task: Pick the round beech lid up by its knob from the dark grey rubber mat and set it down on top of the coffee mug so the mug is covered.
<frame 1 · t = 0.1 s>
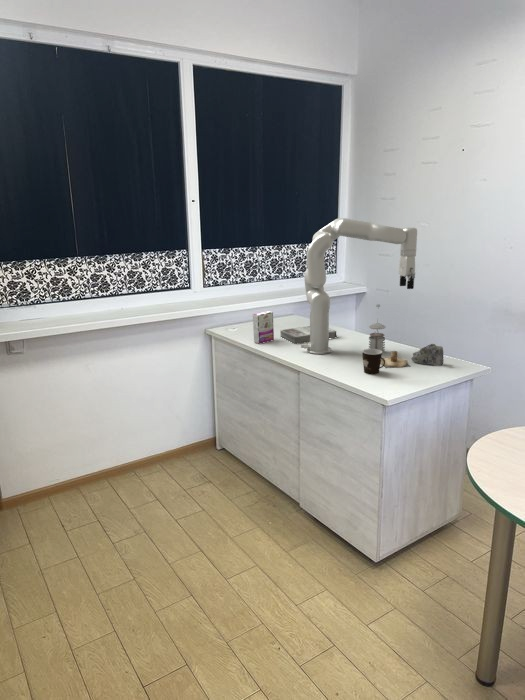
hand: (406, 287, 255), 31 cm above the table, tool pointing down, fingers open, 9 cm apart
french press: (376, 354, 253), on the table
coffee mug: (372, 374, 222), on the table
lid: (393, 363, 235), point 1 cm above the table, touching mat
mineral rock: (428, 364, 235), on the table
mat: (393, 364, 235), on the table
flat grey box: (308, 338, 288), on the table
candy bar box: (263, 341, 281), on the table
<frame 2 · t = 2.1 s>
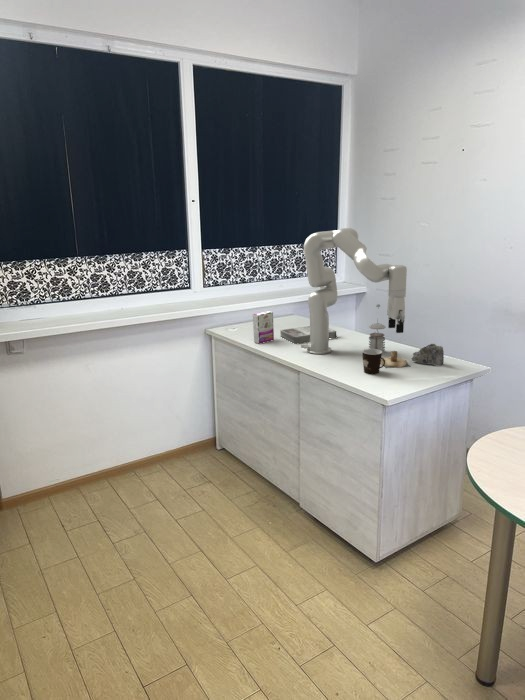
hand: (395, 330, 230), 17 cm above the table, tool pointing down, fingers open, 9 cm apart
nothing on the table moved.
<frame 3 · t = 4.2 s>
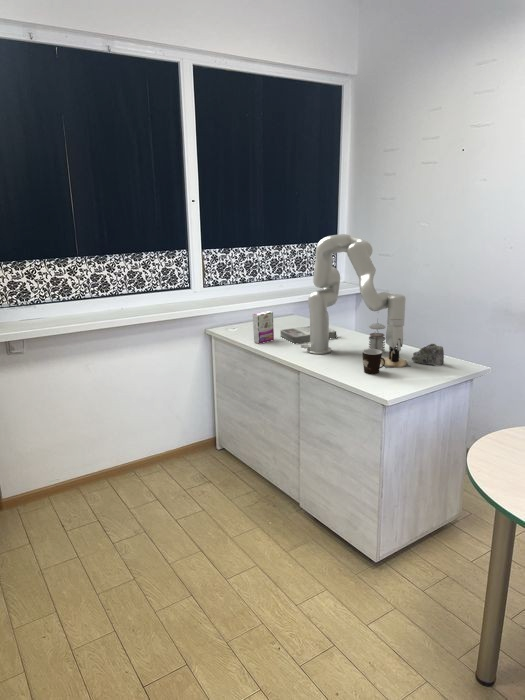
hand: (393, 360, 234), 2 cm above the table, tool pointing down, fingers closed on lid, 2 cm apart
lid: (393, 363, 235), point 1 cm above the table, touching gripper, mat
everything else where it was.
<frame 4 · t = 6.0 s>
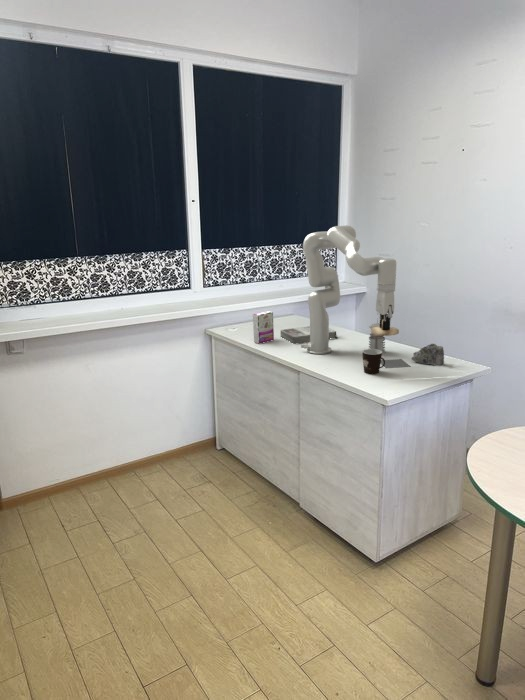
hand: (384, 328, 223), 19 cm above the table, tool pointing down, fingers closed on lid, 2 cm apart
lid: (384, 332, 223), point 18 cm above the table, touching gripper
everything else where it was.
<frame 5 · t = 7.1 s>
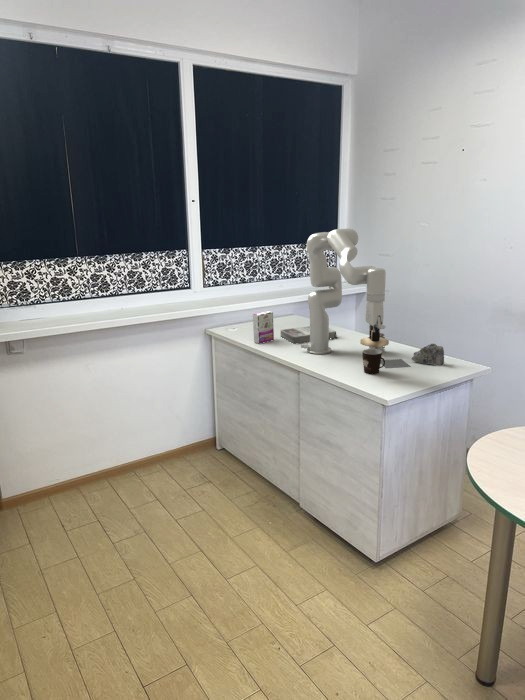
hand: (374, 339, 217), 16 cm above the table, tool pointing down, fingers closed on lid, 2 cm apart
lid: (374, 343, 218), point 14 cm above the table, touching gripper
everything else where it was.
when the fingers open (13 cm above the table, at t = 7.8 s): lid drops 1 cm, resting on coffee mug.
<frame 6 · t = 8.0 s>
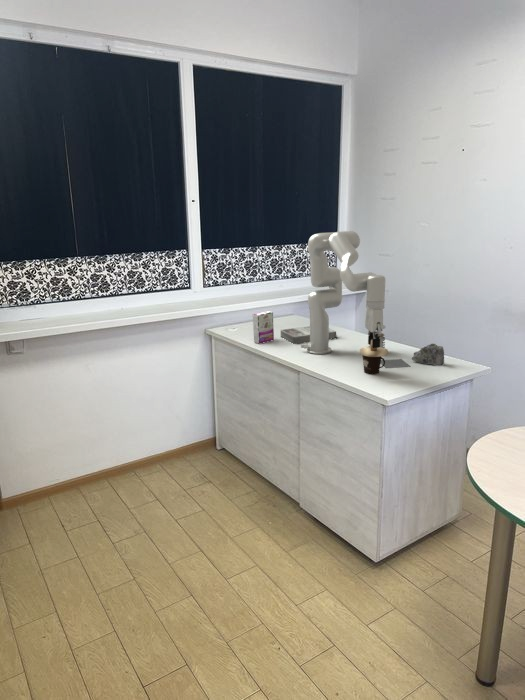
hand: (373, 345, 218), 13 cm above the table, tool pointing down, fingers open, 4 cm apart
coffee mug: (372, 374, 222), on the table, touching lid
lid: (373, 352, 219), point 10 cm above the table, touching coffee mug
everything else where it was.
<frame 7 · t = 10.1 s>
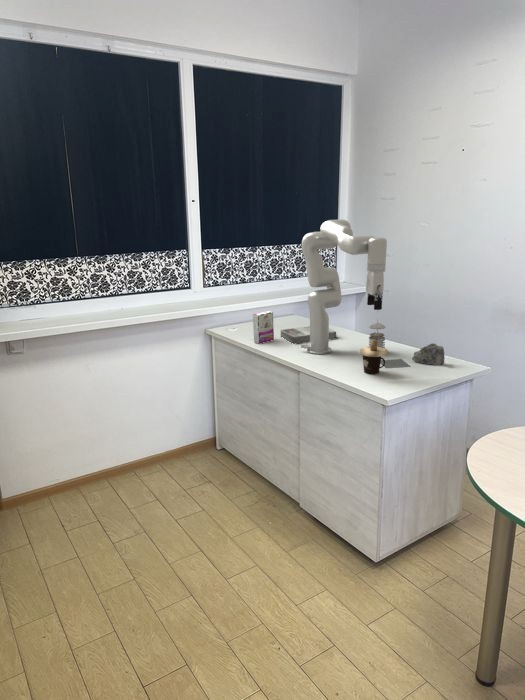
hand: (374, 307, 218), 29 cm above the table, tool pointing down, fingers open, 9 cm apart
nothing on the table moved.
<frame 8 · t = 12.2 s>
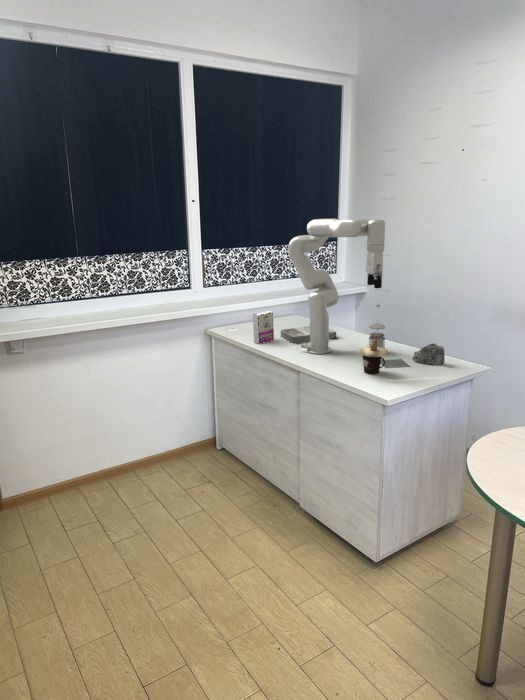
hand: (374, 286, 229), 36 cm above the table, tool pointing down, fingers open, 9 cm apart
nothing on the table moved.
at the end: lid 0.4 cm from the coffee mug (horizontally); lid point 10.0 cm above the table; the gripper is holding nothing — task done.
